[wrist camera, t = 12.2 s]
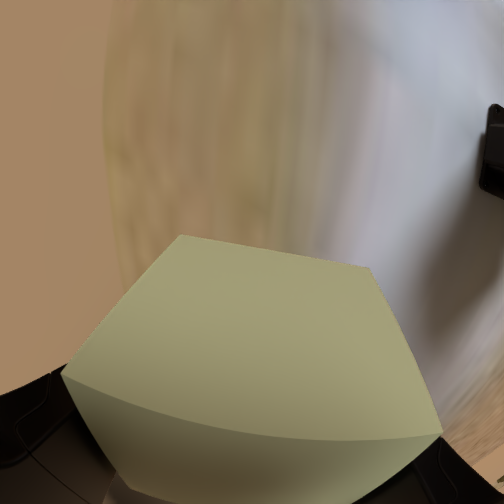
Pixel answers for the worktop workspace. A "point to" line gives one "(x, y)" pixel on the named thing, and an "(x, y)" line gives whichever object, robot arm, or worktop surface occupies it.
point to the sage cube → (252, 380)
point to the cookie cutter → (501, 479)
